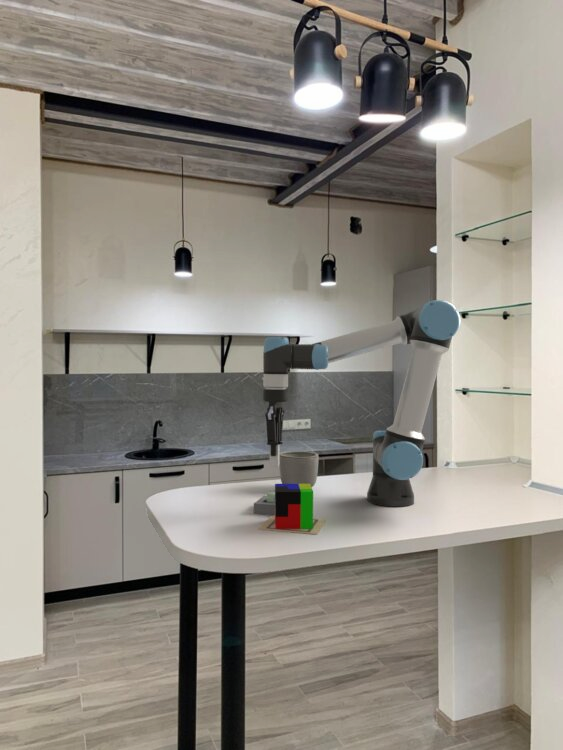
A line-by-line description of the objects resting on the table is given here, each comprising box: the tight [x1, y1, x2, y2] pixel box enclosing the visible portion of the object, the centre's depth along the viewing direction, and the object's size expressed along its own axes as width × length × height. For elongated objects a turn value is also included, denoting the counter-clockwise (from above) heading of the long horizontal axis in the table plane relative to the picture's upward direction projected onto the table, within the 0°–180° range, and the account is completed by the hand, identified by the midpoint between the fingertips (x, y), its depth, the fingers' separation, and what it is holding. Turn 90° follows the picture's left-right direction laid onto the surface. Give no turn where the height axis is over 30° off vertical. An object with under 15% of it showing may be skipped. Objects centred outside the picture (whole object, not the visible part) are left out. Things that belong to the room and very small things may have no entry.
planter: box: [278, 450, 320, 488], centre depth 192 cm, size 14×14×13 cm
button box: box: [253, 495, 275, 516], centre depth 166 cm, size 10×10×3 cm
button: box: [265, 491, 275, 503], centre depth 166 cm, size 5×5×4 cm
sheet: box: [257, 515, 327, 535], centre depth 151 cm, size 16×13×1 cm
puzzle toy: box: [274, 483, 314, 529], centre depth 151 cm, size 10×10×10 cm
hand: (274, 466), depth 166 cm, fingers closed
